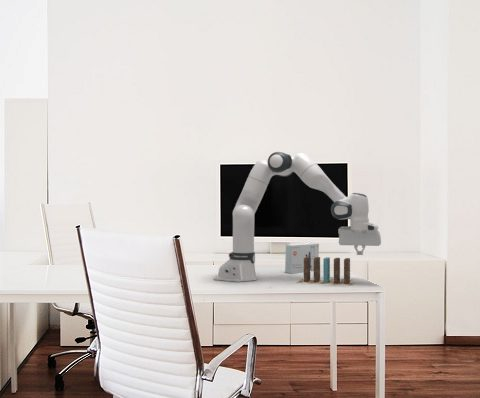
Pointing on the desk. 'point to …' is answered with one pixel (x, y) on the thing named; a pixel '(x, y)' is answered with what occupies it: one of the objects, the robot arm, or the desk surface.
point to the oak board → (325, 283)
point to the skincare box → (300, 256)
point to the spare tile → (326, 270)
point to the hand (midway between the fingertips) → (359, 254)
